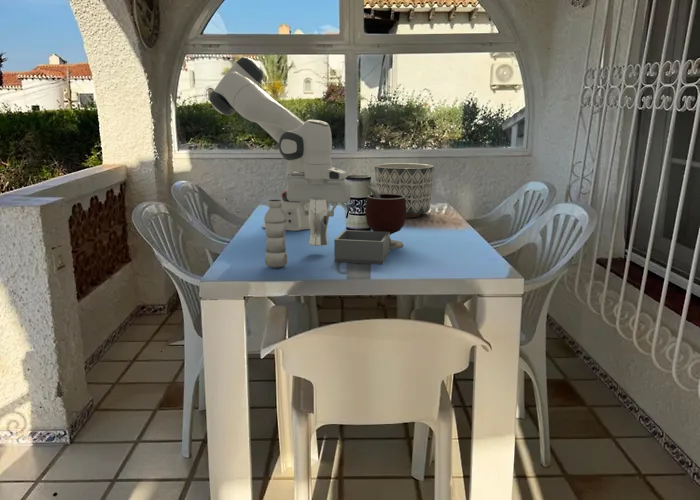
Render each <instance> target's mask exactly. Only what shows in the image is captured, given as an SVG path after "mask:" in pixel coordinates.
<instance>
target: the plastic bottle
mask: <svg viewBox="0 0 700 500" xmlns="http://www.w3.org/2000/svg"><path fill="white" fill-rule="evenodd" d="M281 202H282V199H276V198H274V199H269V200H268V205H267V207H268V210H267V211H266V213H265V215H264V216H263V217H264V218H263V221H264V223H265V228H264V229H265V233H266V235H265V236H266V238H265V239H266V248H265V254H264V260H265V265H266V267H269V268H272V269H273V268H275V269H278V268H282V267H285V266H286V265H287V264H288V258H289V257H288V253H287V245H286V231H287V230H286V221H287V217H286V214H285V213H284V212H283V210H282V209H281V207H282V205H281Z"/></svg>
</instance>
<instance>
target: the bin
mask: <svg viewBox="0 0 700 500" xmlns="http://www.w3.org/2000/svg"><path fill="white" fill-rule="evenodd" d="M390 239H391V235H390V232H378V231H372V230H354V229H353V230H352V229H351V230H350V229H344V230H343V231H342V232H340V234H339V235H338V236H337V237H336V238H334V241H333V242H334V252H333V253H334V263H351V264H365V265H366V264H368V265H369V264H370V265H384V263H385V261H386V260H387V258H388V256H389V254H390V249H389V244H390Z"/></svg>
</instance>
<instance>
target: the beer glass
mask: <svg viewBox="0 0 700 500" xmlns="http://www.w3.org/2000/svg"><path fill="white" fill-rule="evenodd" d="M330 207H331V206H330V203H329V202H326V199H322V200H318V199H310V198H309V203H308V219H309V225H310V229H309V231H310V233H309V234H310V235H309V240H308V244H309V245H310V246H314V247H323V246H327V245H328V244H329V243H328V236H327V235H328V233H327V232H328V227H329V226H328V225H329V222H330V216H328V212H329V211H330V210H331V208H330Z"/></svg>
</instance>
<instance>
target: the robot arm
mask: <svg viewBox="0 0 700 500" xmlns="http://www.w3.org/2000/svg"><path fill="white" fill-rule="evenodd" d="M263 78H264V72H263V69H262V67H261V65H260V64H259V63H258V62H257V61H255V59H252V58H250V57H247V56H242V57H241V58H239V59H238V60H237V61H236V63H235V64H234V65H232V66H231V67H230V68H229V69H228V71H226V72H225V74H224V75H223V77H222V79H220V81H219V82H218V84H217V85H216V87H215V88H214V90H212V91H211V93H210V95H209V103H211V105H212V107H213V108H214V110H215V111H217V112H218V113H220V114H222V115H224V116H232V115H233V114H235V113H236V112H237V113H238V114H239V115H240V116H241V117H243V118H244V119H245V120H247V121H249V122H252V123H256V124H257V125H259V126H260V127H261V128H262V129H263V130H264V131H266V133H267V134H269V136H270V137H271V138H273V139H274V141H276V143H278V150H279V151H278V152H279V153H280V155H281V156H282V158H284V159H285V160H287V167H286V168H287V169H286V173H285V174H286V190H285V191H284V192H283V193H282V194H281V198H282V199H281V205H282V207H281V209H282V210H283V212H284V213H285V214H286V217H287V221H286V230H285V231H294V232H295V231H296V232H298V231H302V230H310V225H309V219H308V203H309V198H310V199H318V200H322V199H326V202H329V204H330V203H331V206H332V208H331V209H330V211H329V212H328V216H329V218H330V217H332V218H333V217H334V215H335V210H336V209H337V206H338V204H347V203H349V202H350V200H351V188H350V184H349V180H347V174H348V173H347V171H345V170H343V169H340V168H337V167H334V166H333V160H332V157H331V155H332V150H333V140H332V139H333V137H332V130H331V127H330V124H329V123H328V122H327V121H323V120H320V119H308V120H306V121H304V120H302V119H301V118H300V117H298V116H297V115H296V114H294V113H293V112H292V111H291V110H289V109H288V108H287V107H285V106H284V105H282V104H281V103H279V102H278V101H277V100H276V99H275V98H273V96H271V95H270V94H269V93H268V92H267V91H265V90H264V89H262V88H261V87H259V84H260V85H262V84H263V82H262V81H263ZM262 228H263V229H266V228H265V222H264V223H263V224H262Z"/></svg>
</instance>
